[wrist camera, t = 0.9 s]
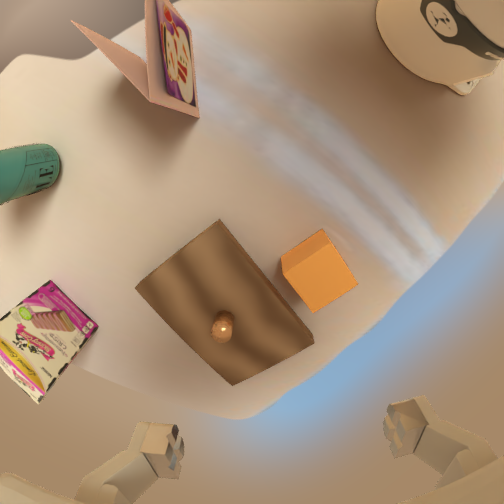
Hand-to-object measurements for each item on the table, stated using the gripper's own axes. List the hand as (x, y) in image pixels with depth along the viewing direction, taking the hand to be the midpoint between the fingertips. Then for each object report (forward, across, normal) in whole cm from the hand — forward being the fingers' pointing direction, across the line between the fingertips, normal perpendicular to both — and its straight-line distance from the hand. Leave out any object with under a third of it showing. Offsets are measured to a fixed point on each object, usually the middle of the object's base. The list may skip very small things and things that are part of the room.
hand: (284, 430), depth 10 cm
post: (+26, +6, +9) cm, 28 cm away
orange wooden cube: (+27, -6, +3) cm, 28 cm away
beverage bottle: (+28, +28, -14) cm, 42 cm away
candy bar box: (+30, +32, +8) cm, 44 cm away
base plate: (+28, +6, +9) cm, 30 cm away
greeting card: (+26, +9, -21) cm, 35 cm away
